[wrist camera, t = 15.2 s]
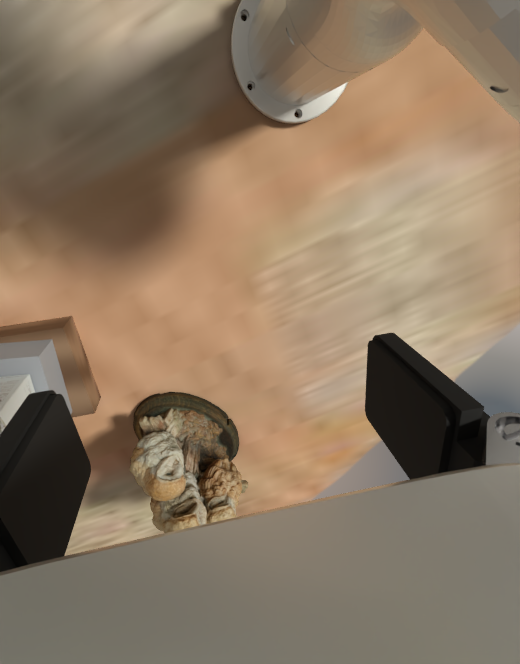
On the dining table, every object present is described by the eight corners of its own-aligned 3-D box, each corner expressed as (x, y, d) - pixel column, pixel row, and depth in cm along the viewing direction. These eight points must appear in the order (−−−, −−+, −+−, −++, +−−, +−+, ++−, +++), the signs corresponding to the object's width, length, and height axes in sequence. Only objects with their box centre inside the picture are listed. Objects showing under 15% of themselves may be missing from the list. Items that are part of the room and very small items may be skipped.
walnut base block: (-33, 330, 42) (-53, 345, 39) (73, 314, 44) (62, 327, 40) (8, 411, 47) (-7, 431, 44) (101, 395, 49) (94, 413, 45)
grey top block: (-47, 347, 39) (-71, 365, 35) (52, 339, 40) (38, 356, 37) (-17, 420, 43) (-35, 444, 40) (72, 411, 45) (62, 432, 41)
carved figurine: (261, 429, 56) (288, 529, 41) (215, 478, 59) (224, 589, 43) (162, 374, 49) (150, 470, 34) (115, 432, 51) (83, 546, 36)
